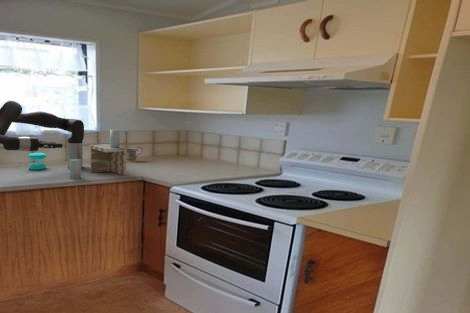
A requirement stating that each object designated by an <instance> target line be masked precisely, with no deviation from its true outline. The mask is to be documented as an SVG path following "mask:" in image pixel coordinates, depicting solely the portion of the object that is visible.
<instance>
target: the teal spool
mask: <svg viewBox="0 0 470 313" xmlns="http://www.w3.org/2000/svg"><path fill="white" fill-rule="evenodd" d="M46 157H47V154H46V153H43V152H32V153H29V154H28V158H29V159H30V160H33V161H36V160H37V161H38V160H39V161H40V160H44V159H45V158H46ZM28 167H29V169H30V170H35V171H40V170H45V169H46V168H47V164H46V163H44V162H33V163H30V164H29V165H28Z"/></svg>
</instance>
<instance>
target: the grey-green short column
mask: <svg viewBox="0 0 470 313" xmlns="http://www.w3.org/2000/svg"><path fill="white" fill-rule="evenodd" d="M80 178H82V168H81V160H80V159H70V168H69V179H71V180H76V179H80Z"/></svg>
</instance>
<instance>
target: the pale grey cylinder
mask: <svg viewBox="0 0 470 313" xmlns="http://www.w3.org/2000/svg"><path fill="white" fill-rule="evenodd" d="M109 130H110V131H109V144H110V147H111V148H120V146H121V130H120V129H109Z"/></svg>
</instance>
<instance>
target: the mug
mask: <svg viewBox="0 0 470 313" xmlns="http://www.w3.org/2000/svg"><path fill="white" fill-rule="evenodd" d="M138 149H141V153H138V154H137V152H138ZM143 152H144V149H143V148H142V147H141V146H137V148H126V164H127V163H131V164H133V163H134V162H135V163H137V162H138V161H137V157H138V156H140V155H141V154H143Z"/></svg>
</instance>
